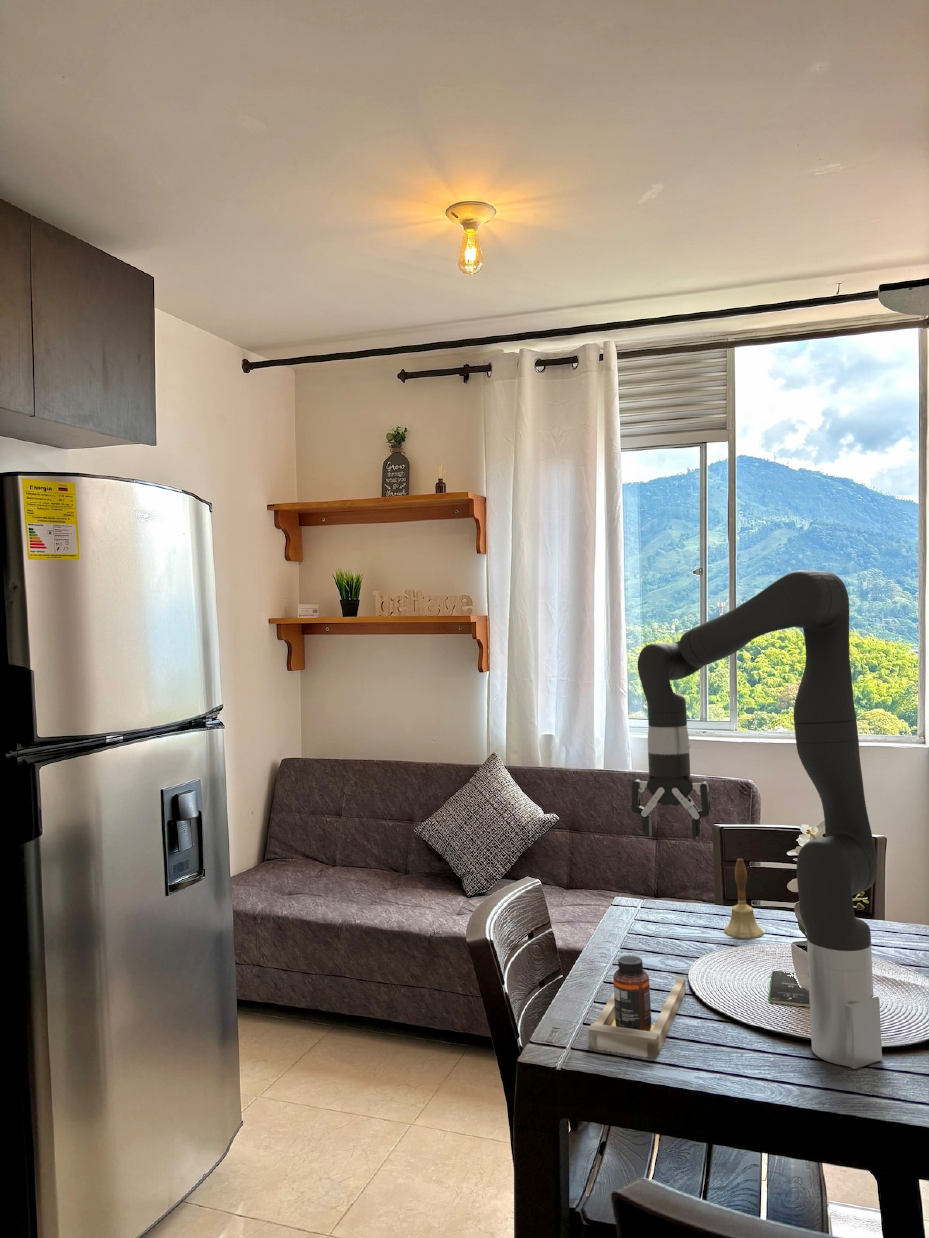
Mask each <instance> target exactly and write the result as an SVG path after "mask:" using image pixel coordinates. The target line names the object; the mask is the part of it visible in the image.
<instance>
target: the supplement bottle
mask: <svg viewBox="0 0 929 1238" xmlns="http://www.w3.org/2000/svg"><path fill="white" fill-rule="evenodd" d="M617 962H618V965H617V966H618V969H617V970H615V972H614V973H613V979H612V980H613V993H614V1001H615V1021H616V1027H623V1028H630V1029H637V1030H643V1031H649V1030H650V1028H651V1024H652V1008H651V1007H652V1006H651V1005H652V1004H651V990H650V989H651V987H650V977H649V974H648V973H647V971H645V970H644V966H643V959H642V958H641V957H639V956H636V955H624V956H620V957H619V958H618V961H617Z"/></svg>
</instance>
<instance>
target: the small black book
mask: <svg viewBox="0 0 929 1238" xmlns="http://www.w3.org/2000/svg"><path fill="white" fill-rule="evenodd" d="M784 972H785V973H784ZM784 972H783V971H781V970H774V971H771V973H772V974H771V973H770V978H771V981H770V980H769V981H770V982H769V987H770V988H769V989H770V991H769V989H768V995H767V996H768V997H767V1001H768V1000H769V1001H770V1002H773V1003H782V1004H789V1005H788V1006H790V1005H796V1006H795V1007H798V1006H808V1007H807V1008H809V1006H810V1000H809V993H808V992H807V991H804V990H803V989H801V988H800V987H799V985H798V983H797V981H796V979H795V978H794V976H793V977H792V976H791V977H790V976H787V975H791V974H790V973H786V972H787V971H784ZM794 973H795V972H793V973H792V974H793V975H794ZM771 975H772V976H771ZM769 1001H768V1002H769ZM770 1002H769V1003H770ZM773 1003H772V1004H773Z"/></svg>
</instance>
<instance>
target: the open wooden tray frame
mask: <svg viewBox="0 0 929 1238" xmlns="http://www.w3.org/2000/svg"><path fill="white" fill-rule="evenodd" d="M686 985H687V984H686V977H684V976H677V978H676V980H675V982H674V983H673V986H672V988H671V990H670V992H669V994H668V997H666V1000H665V1003H664V1004H663V1007H662V1009H661V1011H660V1013H659V1015H658V1018H657V1020H656V1022H655V1024H654V1025H655V1026H654V1028H653V1030H652V1032H650V1031H643V1030H637V1029H630V1028H623V1027H616V1026H611V1024H612V1023H613V1021H614V1019H615V1001H614V992H613V993H612V994H611V996H610V998H609V999H608V1001H607V1002H606V1003H605V1006H604V1007H603V1009H602V1011H601V1012H600V1014H599V1015H598V1017H597V1019H596V1020H595V1021H594V1022H591V1023H590V1025H589V1027H588V1029H587V1034H588V1035H587V1036H588V1037H587V1038H588V1041H587V1042H588V1049H591V1048H594V1049H593V1050H597V1049H598V1050H599V1051H604V1050H606V1051H605V1052H610V1051H611V1052H612V1053H616V1052H617V1054H625V1055H629V1054H630V1056H636V1057H641V1058H649V1059H654V1060H656V1059H658V1056H659V1054H660V1052H661V1050H662V1047H663V1044H664V1043H665V1040H666V1038H667V1035H668V1034H669V1032H670V1028H671V1026H672V1024H673V1022H674V1019H675V1018H676V1017H675V1016H676V1015H677V1013H678V1010H679V1008H680V1005H681V1003H682V1001H683V998H684V996H685V994H686V992H687V989H686V987H687V986H686ZM598 1050H597V1051H598Z"/></svg>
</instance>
